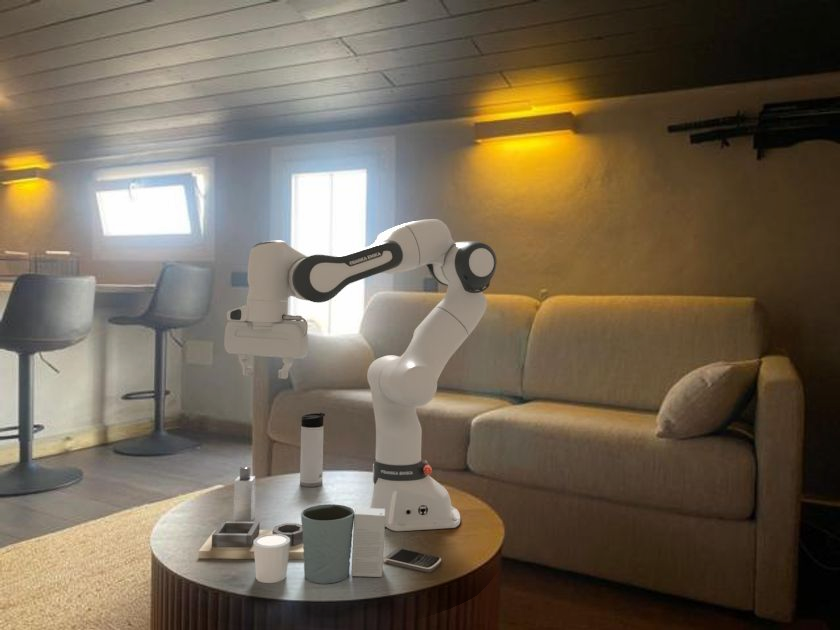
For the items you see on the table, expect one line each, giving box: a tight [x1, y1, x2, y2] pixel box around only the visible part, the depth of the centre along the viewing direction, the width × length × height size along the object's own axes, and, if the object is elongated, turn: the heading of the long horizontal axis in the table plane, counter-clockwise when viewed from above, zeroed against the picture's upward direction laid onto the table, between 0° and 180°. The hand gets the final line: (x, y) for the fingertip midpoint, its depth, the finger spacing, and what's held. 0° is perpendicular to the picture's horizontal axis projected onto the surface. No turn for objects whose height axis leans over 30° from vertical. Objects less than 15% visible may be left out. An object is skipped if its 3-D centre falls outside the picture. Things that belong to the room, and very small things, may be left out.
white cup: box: [254, 534, 290, 584], centre depth 122 cm, size 7×7×7 cm
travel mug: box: [299, 412, 326, 488], centre depth 181 cm, size 6×7×20 cm
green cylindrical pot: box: [300, 503, 355, 585], centre depth 123 cm, size 10×10×12 cm
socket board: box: [198, 520, 304, 560], centre depth 135 cm, size 22×12×4 cm, turn 92°
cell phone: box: [383, 547, 442, 574], centre depth 130 cm, size 6×11×1 cm, turn 64°
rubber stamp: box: [233, 466, 256, 522], centre depth 151 cm, size 4×4×12 cm
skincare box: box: [350, 507, 386, 578], centre depth 124 cm, size 6×4×12 cm
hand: (265, 376), depth 141 cm, fingers open, 8 cm apart
